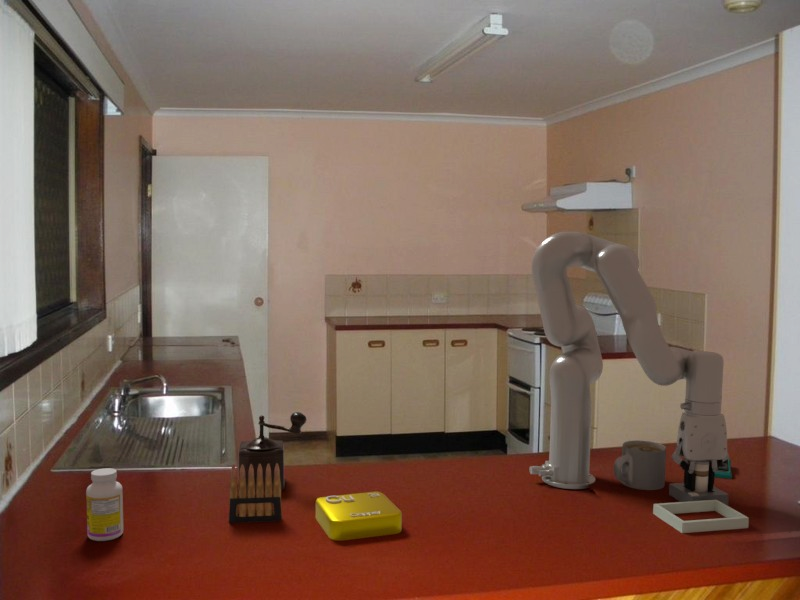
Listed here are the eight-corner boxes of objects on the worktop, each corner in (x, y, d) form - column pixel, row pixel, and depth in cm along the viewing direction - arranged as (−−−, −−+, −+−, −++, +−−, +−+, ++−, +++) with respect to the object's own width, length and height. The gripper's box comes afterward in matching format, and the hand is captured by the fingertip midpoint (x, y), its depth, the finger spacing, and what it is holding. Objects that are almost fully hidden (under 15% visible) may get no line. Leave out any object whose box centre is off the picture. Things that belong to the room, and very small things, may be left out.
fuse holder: (691, 512, 177) (692, 495, 177) (668, 498, 186) (669, 482, 186) (727, 509, 179) (728, 493, 179) (704, 496, 188) (704, 480, 188)
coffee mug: (649, 479, 200) (651, 439, 199) (672, 492, 190) (675, 450, 189) (600, 483, 197) (601, 442, 196) (621, 496, 187) (623, 453, 186)
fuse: (695, 503, 180) (697, 462, 179) (685, 497, 184) (687, 457, 183) (710, 502, 181) (713, 461, 180) (700, 496, 185) (702, 456, 184)
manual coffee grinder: (237, 494, 185) (237, 416, 183) (239, 478, 196) (239, 404, 194) (306, 491, 187) (307, 414, 185) (304, 476, 198) (305, 403, 196)
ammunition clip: (281, 517, 171) (281, 461, 169) (281, 521, 169) (281, 464, 168) (229, 519, 169) (229, 463, 168) (228, 523, 167) (228, 465, 166)
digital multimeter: (730, 468, 212) (731, 457, 211) (731, 485, 198) (732, 473, 198) (700, 464, 214) (701, 453, 214) (699, 481, 200) (700, 469, 200)
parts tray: (681, 537, 163) (682, 522, 163) (652, 518, 174) (653, 503, 173) (748, 532, 166) (748, 517, 166) (715, 513, 177) (716, 499, 177)
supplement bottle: (95, 528, 163) (94, 465, 162) (128, 529, 163) (127, 466, 161) (81, 542, 156) (79, 476, 155) (115, 542, 156) (114, 477, 155)
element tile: (332, 543, 158) (332, 519, 158) (313, 517, 172) (313, 495, 172) (404, 534, 163) (405, 511, 163) (380, 509, 177) (381, 488, 177)
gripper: (678, 413, 175) (674, 496, 177) (746, 410, 179) (742, 491, 180) (659, 405, 182) (655, 485, 184) (726, 402, 186) (721, 481, 188)
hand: (698, 487), depth 182 cm, fingers closed on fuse, 3 cm apart
